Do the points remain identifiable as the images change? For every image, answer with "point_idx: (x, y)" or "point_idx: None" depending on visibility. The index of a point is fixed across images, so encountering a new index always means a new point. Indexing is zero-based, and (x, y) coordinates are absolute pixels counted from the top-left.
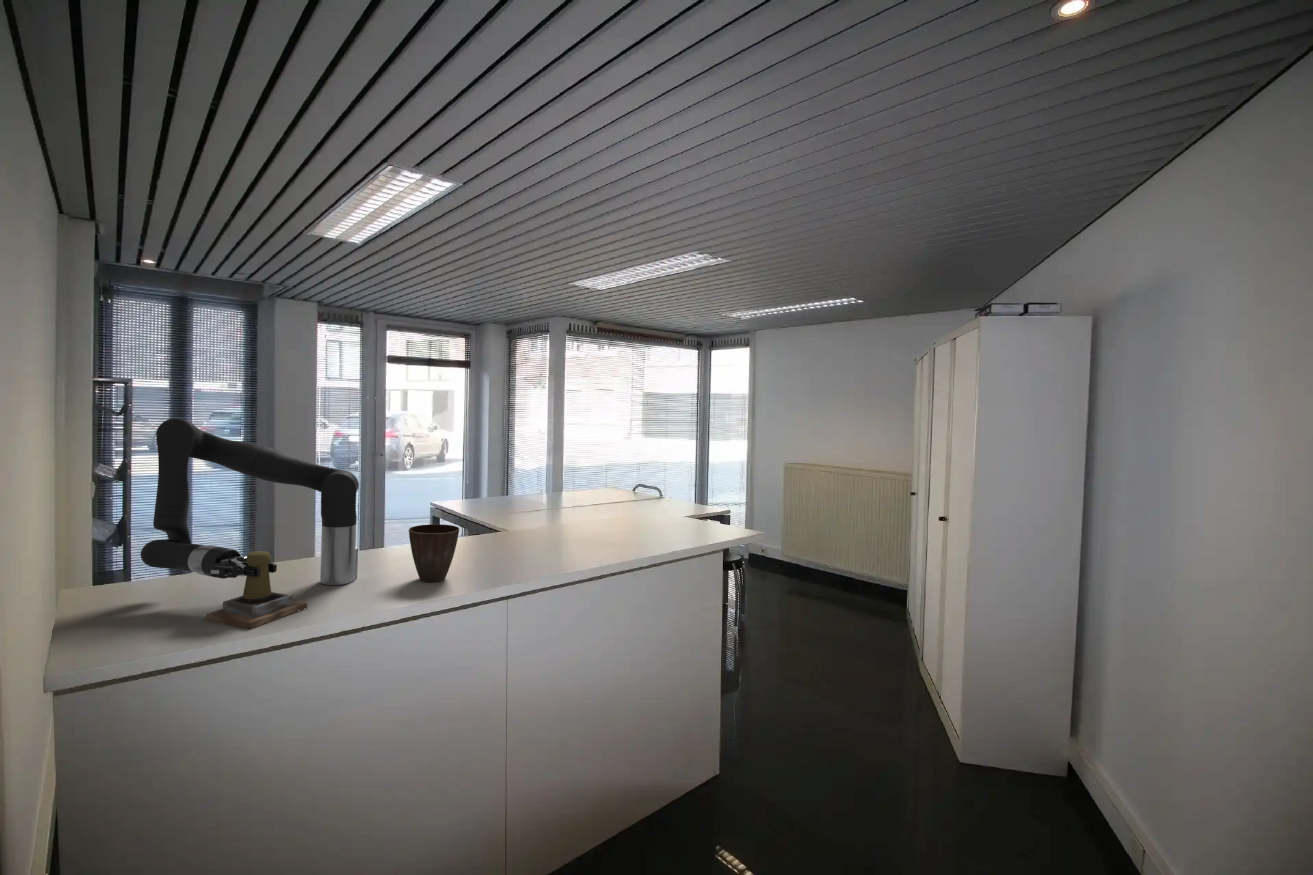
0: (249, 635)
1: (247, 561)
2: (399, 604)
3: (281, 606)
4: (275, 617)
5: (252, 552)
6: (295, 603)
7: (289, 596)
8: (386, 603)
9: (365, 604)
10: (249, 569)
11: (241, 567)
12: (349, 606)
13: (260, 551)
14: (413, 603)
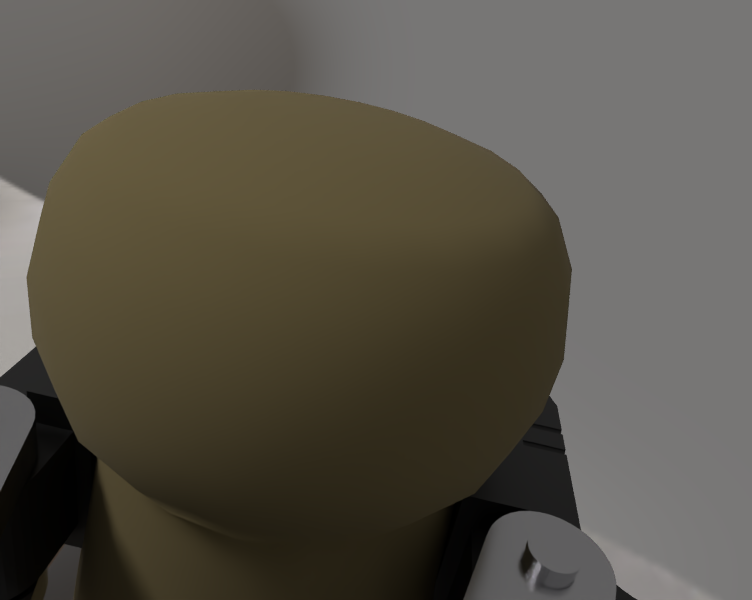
0: (633, 585)
1: (547, 390)
2: (31, 222)
3: None
4: None
5: (418, 182)
6: (55, 557)
7: None
8: (3, 249)
9: (4, 300)
10: (532, 451)
11: (604, 575)
12: (33, 343)
13: (287, 108)
14: (24, 197)
